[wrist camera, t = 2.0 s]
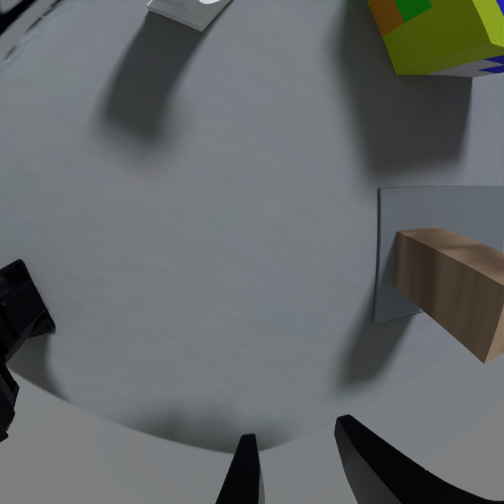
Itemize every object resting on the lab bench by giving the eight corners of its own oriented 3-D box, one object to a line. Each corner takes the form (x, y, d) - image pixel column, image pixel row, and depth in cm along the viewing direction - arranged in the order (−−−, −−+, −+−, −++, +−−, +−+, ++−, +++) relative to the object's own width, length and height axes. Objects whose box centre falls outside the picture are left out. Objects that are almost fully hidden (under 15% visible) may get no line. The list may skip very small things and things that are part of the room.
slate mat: (372, 322, 22) (374, 324, 22) (378, 187, 19) (380, 188, 19) (494, 286, 24) (495, 287, 23) (505, 187, 20) (507, 187, 20)
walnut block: (392, 286, 21) (483, 363, 11) (396, 231, 20) (507, 288, 9) (433, 277, 22) (523, 339, 11) (438, 226, 20) (543, 272, 10)
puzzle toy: (472, 77, 17) (552, 66, 7) (395, 75, 17) (491, 43, 7) (435, -11, 14) (499, -44, 4) (351, -27, 14) (411, -89, 4)
